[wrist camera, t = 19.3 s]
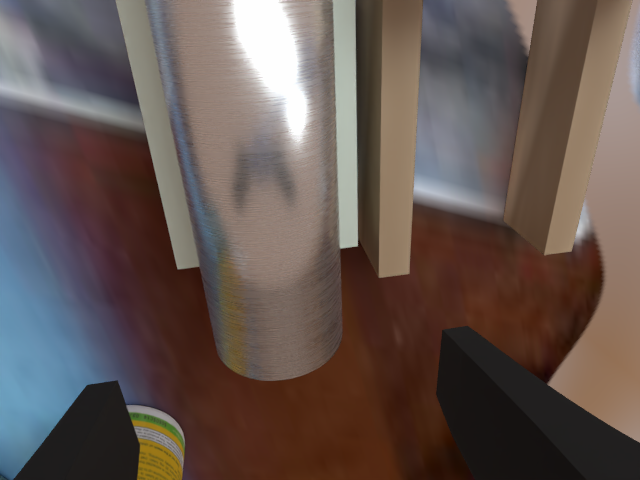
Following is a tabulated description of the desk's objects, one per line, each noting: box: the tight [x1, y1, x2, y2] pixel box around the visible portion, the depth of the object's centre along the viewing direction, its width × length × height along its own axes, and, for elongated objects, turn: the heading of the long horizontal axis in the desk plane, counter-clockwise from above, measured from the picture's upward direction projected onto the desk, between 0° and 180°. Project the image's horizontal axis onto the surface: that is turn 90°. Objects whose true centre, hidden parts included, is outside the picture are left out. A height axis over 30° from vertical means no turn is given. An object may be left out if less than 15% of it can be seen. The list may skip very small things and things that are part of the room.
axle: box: [144, 0, 342, 381], centre depth 13 cm, size 14×4×4 cm, turn 3°
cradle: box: [116, 0, 358, 269], centre depth 16 cm, size 6×9×3 cm
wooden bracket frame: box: [356, 0, 632, 278], centre depth 16 cm, size 8×12×6 cm, turn 3°
